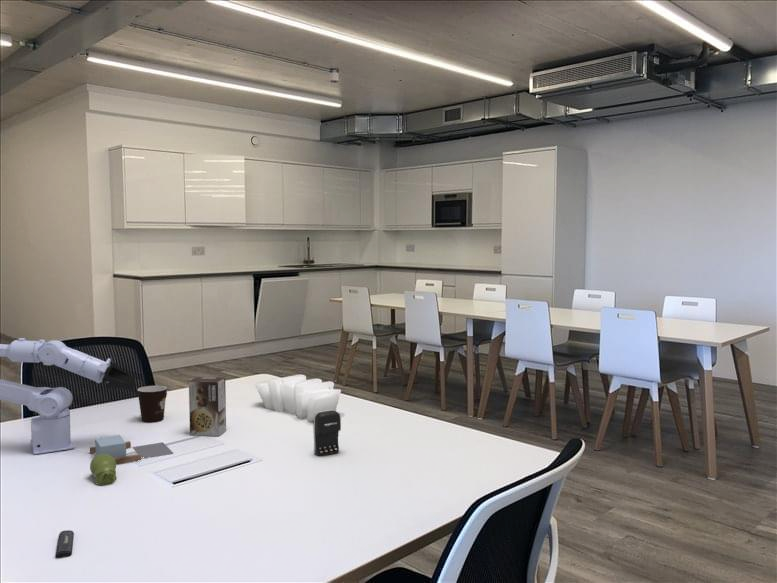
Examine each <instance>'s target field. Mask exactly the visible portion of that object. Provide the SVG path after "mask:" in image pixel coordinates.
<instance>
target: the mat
mask: <svg viewBox="0 0 777 583" xmlns="http://www.w3.org/2000/svg"><path fill="white" fill-rule="evenodd" d="M132 448H133V450H134V451H135V452H136V454H141V457H142V458H143V457H144V458H145V459H149V458H148V457H150V458H155V456H156V457H160V456H161V455H162V456H167V454H168V455H172V454H173V453H174V452H173V451H172V450H171V448H169V446H167V445H166V443H164V442H156V443H149V444H144V445H143V444H142V445H138V446H137V445H136V446H132ZM173 455H174V454H173ZM162 456H161V457H162ZM142 458H141V459H142Z"/></svg>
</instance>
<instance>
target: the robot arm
mask: <svg viewBox="0 0 777 583" xmlns="http://www.w3.org/2000/svg"><path fill="white" fill-rule="evenodd" d="M1 357H3V358H8V359H9V360H10V361H11V362H13V363H35V364H36V363H38V364H39V363H40V362H41V363H42V365H44V366H52V365H53V366H56V367H58V368H62V369H64V370H67V371H68V372H70V373H74V374H76V375H79V376H81V377H84V378H87V379H89V380H90V381H94V382H95V383H97V384H100V383H107V384H106V385H105V388H106V389H120V390H125V391H130V392H133V391H134V390H135V388H136V386H137V383H136V382H135V381H136V378H135V377H134V376H132V375H131V374H130V373H129V372H126V371H124V370H123V369H122V368H121V367H120V366H118V365H117V363H116V362H115V361H113V362H112V363H111V361H112V359H111V358H107V360H106V361H104V360H103V359H99V358H97V357H94V356H92V355H90V354H87V353H85V352H82V351H81V350H80V351H79V350H77V349H73V348H71V347H69V346H67V345H66V344H65V343H64V342H62V341H61V340H56V339H52V340H49V341H47V342H46V340H45V339H39V340H27V339H26V338H25V337H24V338H23V337H19V338H18V340H17V339H16V340H13V341H11V343H9V344H8V343H7V344H4V343H3V344H2V343H0V358H1ZM0 401H5V402H8V403H12V404H13V403H14V404H16V405H17V404H18V405H22V406H26V407H27V408H28V410H29V411H32V412H35V413H37V414H39V416H38V417H33V418H31V419H30V432H31V433H30V434H31V435H30V436H31V438H30V447H31V449H32V453H33V454H34V455H40V454H47V453H53V452H60V451H65V450H73V449H75V446H74V444H73V442H72V440H71V439H72V438H71V411H70V409H69V407H70V406H71V404H72V403H73V394H72V392H71V390H69V389H67V388H66V387H62V386H59V387H58V386H57V387H48V386H47V387H46V386H43V387H42V386H41V387H40V386H39V387H36V386H32V385H28V384H24V383H20V382H14V381H11V380H7V379H2V378H0Z"/></svg>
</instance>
